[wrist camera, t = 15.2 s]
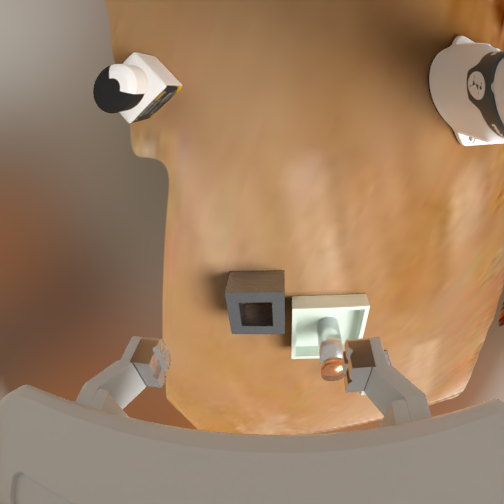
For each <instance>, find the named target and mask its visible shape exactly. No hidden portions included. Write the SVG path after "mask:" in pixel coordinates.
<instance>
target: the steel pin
mask: <svg viewBox="0 0 504 504" xmlns="http://www.w3.org/2000/svg"><path fill="white" fill-rule="evenodd" d="M316 327H317V336H318V345H319V355H320V365H321V376H322V378H323V379H324V380H327V381H336V380H339V379H342V378H343V377H345V374H344V373H343V369H342V356H343V352H344V350H343V344H342V339H341V334H340V328H339V323H338V320H337V319H336V318H333V317H324V318H322V319H320V320H319V321H318V322H317V325H316Z"/></svg>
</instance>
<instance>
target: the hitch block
mask: <svg viewBox="0 0 504 504" xmlns="http://www.w3.org/2000/svg"><path fill="white" fill-rule="evenodd" d="M225 298H226V304H227V310H228V315H229V321H230V326H231V332H232V334H285V279H284V271H231V272H230V274H229V278H228V282H227V286H226V289H225ZM258 302H272V304H245V303H258Z"/></svg>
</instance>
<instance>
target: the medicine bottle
mask: <svg viewBox="0 0 504 504" xmlns="http://www.w3.org/2000/svg"><path fill="white" fill-rule="evenodd" d="M182 87H183V86H182V84H181V83H180V82H179V81H178V80H177V79H176V78H175V77H174V76H173V74H172V73H171V72H170V71H169V70H168V69H167V68H166V67H165V66H164V65H163V64H162V63H161V62H160V61H159V60H158V59H157V58H156V57H155V56H151V55H147V54H142V53H137V52H133V53H132V54H131V55H130V56H129V57H128V58H127V59H126V60H125V61H124V63H123V64H114V65H111V66H108V67H107V68H105V69H104V70H103V71H102V72H101V73H100V74H99V76H98V77H97V79H96V82H95V84H94V99H95V101H96V104H97V105H98V107H99V108H100V109H102V110H103V111H105V112H108V113H118V112H119V113H120V114H121V115H122V116H123V117H124V119H125V120H126V121H127V122H128V123H133V122H137V121H141V120H144V119H148V118H151V117H152V116H153V115H154V114H155V113H156V112H157V111H158V110H159V109H160V108H161V107H162V106H163V105H164V104H165V103H166V102H167V101H168V100H169V99H171V98H172V97H173V96H174V95H175V94H176V93H177V92H178V91H179V90H180V89H181V88H182Z"/></svg>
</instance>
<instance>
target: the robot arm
mask: <svg viewBox="0 0 504 504" xmlns="http://www.w3.org/2000/svg"><path fill="white" fill-rule="evenodd" d="M429 85H430V91H431V95H432V99H433V102H434V104H435V106H436V108H437V110H438V112H439V113H440V115H441V116H442V118H443V119H444V120H445V121H446V122H447V123H448V124H449V125H450V126H451V127H452V129H453V130H454V133H455V135H456V138H457V140H458V142H459V143H460V144H461V145H464V146H472V145H485V144H499V143H504V51H500V50H499V49H498V48H495V47H491V45H490V44H488V43H475V42H473V41H472V40H470V39H468V38H467V37H465V36H457V37H456V38H455V39H454V41H453V43H452V45H451V46H449V47H448V48H446V49H444V50H442V51H441V52H439V53H438V54H437V55H436V57H435V58H434V60H433V62H432V65H431V68H430V74H429ZM469 137H470V140H469ZM344 346H345V351H344V352H343V356H342V369H343V373H344V374H345V378H344V384H345V391H346V392H359V391H364V393H365V394H366V395H367V396H368V397H369V398H370V400H371V401H372V402H373V403H374V404H375V406H376V407H377V408H378V409H379V410H380V411H381V413H382V414H383V415H384V418H383V420H382V421H381V423H380V424H379V426H378V428H373V429H366V430H358V431H348V432H338V433H326V434H304V435H259V434H238V433H225V432H214V431H204V430H196V429H187V428H181V427H175V426H169V425H162V424H157V423H152V422H147V421H142V420H138V419H133V418H129V417H128V415H127V414H126V413H125V412H124V411H123V408H124V407H125V406H127V405H128V403H130V402H131V401H132V400H133V399H134V398H135V397H136V396H137V395H138V394H139V393H140V392H141V391H142V390H143V389H144V388H145V387H146V386H154V387H162V386H163V383H164V380H165V378H166V376H165V373H164V372H166V371H167V370H168V369H169V366H170V354H169V351H168V350H167V349H166V348H164V347H165V342H164V340H163V339H156V338H147V337H138V336H134V337H132V338H131V340H130V342H129V345H128V346H127V348H126V350H125V352H124V354H123V356H122V358H121V360H120V361H119V360H118V361H116V362H115V363H113V364H112V365H111V366H109V367H108V368H106V369H105V370H103V371H102V372H101V373H99V374H98V375H96V376H95V377H93V378H92V379H91V380H89V381H88V382H86V383H85V384H84V386H83V387H82V389H81V391H80V394H79V395H78V397H77V399H76V401H75V402H72V401H69V400H66V399H63V398H61V397H58V396H55V395H52V394H50V393H47V392H45V391H42V390H40V389H37V388H35V387H33V386H30V385H24V386H21V387H19V388H18V389H16V390H14V391H12V392H11V393H9V394H8V395H6V396H5V397H4V398H3V399H2V400H1V401H0V504H504V402H502V401H501V400H499V399H491V400H488V401H485V402H482V403H479V404H476V405H473V406H470V407H467V408H464V409H460V410H457V411H454V412H450V413H447V414H443V415H439V416H435V417H431V413H430V410H429V406H428V403H427V399H426V396H425V394H424V393H423V392H422V391H421V390H419V389H418V388H417V387H416V386H415V385H414V384H412V383H411V382H410V381H409V380H408V379H407V378H405V377H404V376H403V375H402V374H401V373H400V372H399V371H397V370H396V369H395V368H394V367H393V366H392V365H388V363H387V360H386V356H385V353H384V349H383V346H382V342H381V339H380V338H379V337H374V338H361V339H350V340H346V341H345V345H344Z"/></svg>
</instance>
